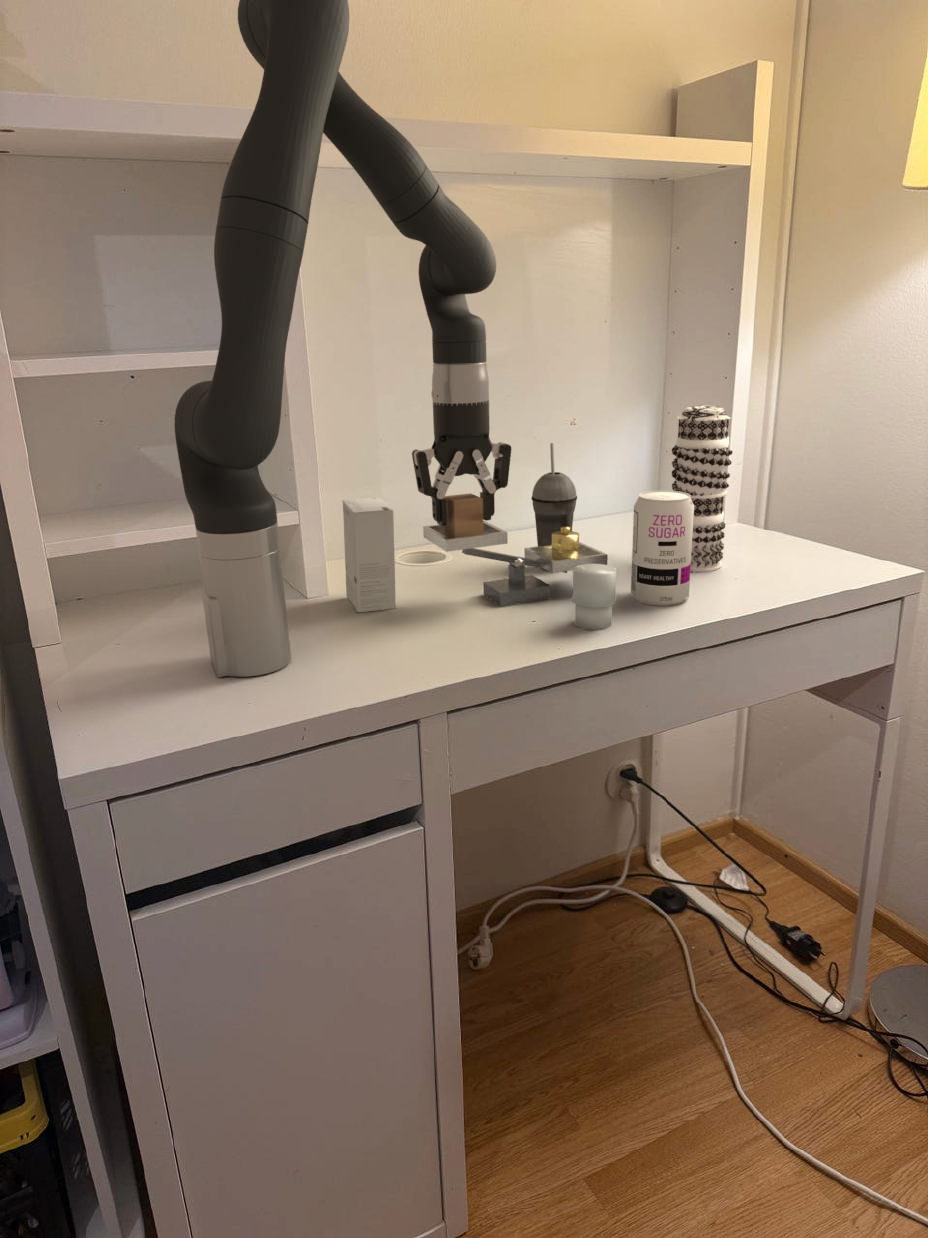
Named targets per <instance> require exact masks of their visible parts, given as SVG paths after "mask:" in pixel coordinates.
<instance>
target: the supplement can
mask: <svg viewBox="0 0 928 1238" xmlns="http://www.w3.org/2000/svg"><path fill="white" fill-rule="evenodd" d="M693 518H694V504H693V502H692V500H691V498H690V495H689V494H688V493H684V492H679V491H673V490H661V489H660V490H649V491H643V492H641V493H639V494H638V498H637V500H636V501H635V502H634V505H633V519H632V520H633V521H632V522H633V523H632V525H633V526H632V551H631V574H630V575H631V577H630V578H631V579H630V584H631V585H630V594H631V596H633V597H634V600H636V601H637V602H639V603H642V604H644V605H645V604H646V605H649V606H664V607H665V606H675V605H679V604H682V603H683V602H684V601H685V600H686V599H687V598H689V597H690V584H691V583H690V581H691V572H690V568H691V551H692V534H693Z"/></svg>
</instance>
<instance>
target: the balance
mask: <svg viewBox="0 0 928 1238" xmlns="http://www.w3.org/2000/svg"><path fill="white" fill-rule="evenodd" d="M422 527H423V528H422V529H423V538H424V539H426V540H427V541H429V542H431V543H432V544H434V545H435V546H437V547H438V548H440V549H442V550H443V551H445V552H453V551H461V554H464V555H465V556H466V555H467V556H471V557H477V558H482V559H488V560H494V561H499V562H506V563H508V564H507V566H508V567H507V568H508V571H507V572H508V574H507V575H508V576H507V578H502V579H497V580H495V579H494V580H490V581H484V582H483V596H484V595H485V596H484V597H485V598H487V597H488V598H487V599H489V600H490V599H491V600H490V601H491V602H493V603H495V604H496V605H498V606H499V607H505V606H506V605H507V606H512V605H511V604H514V605H518V604H517V603H520V604H524V603H525V602H526V603H531V602H538V601H539V602H540V601H543V600H551V597H552V596H551V591H552V590H551V586H552V585H551V584H549V583H547V582H545V581H544V580H542V579H540V578H538V577H536V576H534V575H533V574H531V575H526V566H527V567H532V568H538V569H540V568H542V569H546V570H547V571H546V572H548V571H549V572H548V573H551V574H557V573H565V574H567V573H568V572H570V571H573V568H574V567H576V566H579V565H584V564H604V565H608V559H609V558H608V557H609V556H608V554H607V553H605V552H603V551H601V550H598V549H596V548H593V547H591V546H589V545H588V544H585V543H582V542H580V533H579V532H577V531H573V530H572V531H570V527H568V526H563V527H561V531H557V532H554V533H552V544H551V545H544V546H538V545H536V546H530V547H524V556H523V557H522V556H517V555H512V554H506V553H501V552H495V551H490V550H485V549H479V548H483V547H485V548H486V547H491V546H499V545H508V539H509V538H508V532H507V531H506V530H503V529H502V528H499V527H497V526H495V524H494V525H493V524H492V523H490V522H487V521H485V520H483V534H481V535H473V536H465V537H457V538H449V537H447V536H445V535H444V526H441V525H439V524H431V525H423V526H422Z"/></svg>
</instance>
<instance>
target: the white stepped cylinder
mask: <svg viewBox="0 0 928 1238" xmlns="http://www.w3.org/2000/svg"><path fill="white" fill-rule="evenodd" d="M616 583H617V569H616V567H614V566H612V565H608V564H607V565H604V564H584V565H579V566H576V567H574V568H573V570H572V602H573V604H575V607H574V608H575V610H574V612H575V616H574V620H575V621H574V623H575V624H574V625H575V626H576V627H577V628H580V629H584V630H590V631H594V630H595V631H599V630H606V629H608V628H610V627H611V626H612V623H613V622H612V621H613V620H612V618H613V605H614V604H615V603H616V594H617V593H616V588H617V584H616Z"/></svg>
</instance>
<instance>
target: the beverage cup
mask: <svg viewBox="0 0 928 1238" xmlns="http://www.w3.org/2000/svg"><path fill="white" fill-rule="evenodd" d="M554 447H555V446H554V442H551V443H550V471H551V472H547V473H545V474H543V475H542V476H540V478H539V479H538V480H537V481H536V483H535V484H534V486H533V489H532V492H531V493H532V495H531V498H530V499H531V502H532V507H533V512H534V519H535V528H536V530H535V531H536V539H537V540H536V542H537V546H544V545H551V544H552V533H554V532H557V531H561V527H563V526H568V527H570V531H573V523H574V513H575V510H576V505H577V500H578V496H577V489H576V486H575V484H574V482H573V480H572V479H571V478H570V477H569V476H567V475H566V474H564V473H563V472H559V471H555V455H554V454H555V452H554V451H555V450H554ZM539 569H540V570H541V571H543V572H548V573H550V572H549V571H547V570H546V569H542V568H539Z"/></svg>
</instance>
